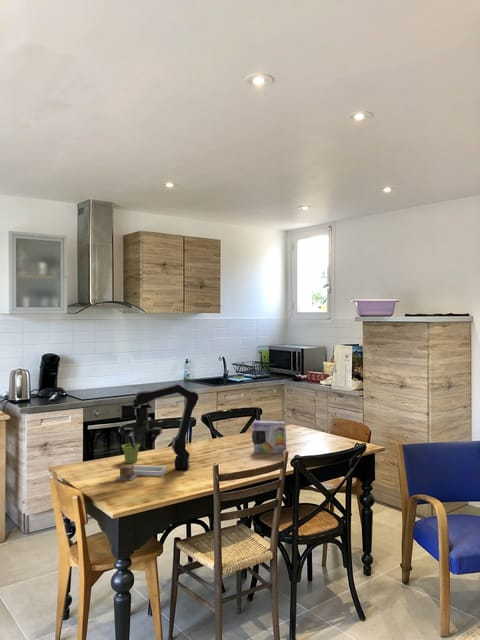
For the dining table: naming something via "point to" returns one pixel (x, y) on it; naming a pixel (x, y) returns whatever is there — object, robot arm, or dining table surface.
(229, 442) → the dining table surface
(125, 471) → the walnut block
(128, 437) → the robot arm
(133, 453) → the plant pot
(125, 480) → the slate coaster
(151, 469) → the channel
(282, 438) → the cake pan box
